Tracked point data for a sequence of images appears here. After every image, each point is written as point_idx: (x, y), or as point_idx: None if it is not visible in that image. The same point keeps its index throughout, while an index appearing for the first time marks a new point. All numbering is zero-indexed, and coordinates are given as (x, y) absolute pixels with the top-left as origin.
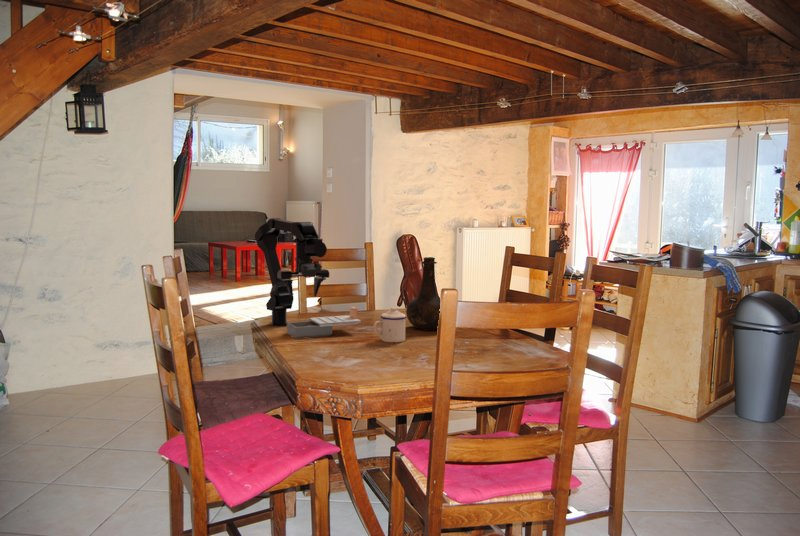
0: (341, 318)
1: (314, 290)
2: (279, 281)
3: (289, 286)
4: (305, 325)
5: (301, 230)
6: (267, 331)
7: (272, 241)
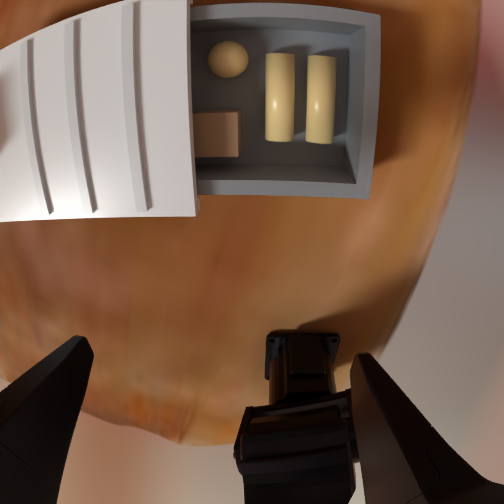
0: (20, 142)
1: (71, 400)
2: None
3: (452, 457)
4: (241, 172)
5: None
6: (408, 257)
7: None
